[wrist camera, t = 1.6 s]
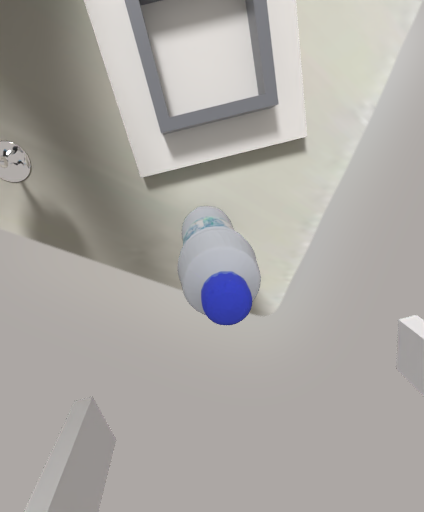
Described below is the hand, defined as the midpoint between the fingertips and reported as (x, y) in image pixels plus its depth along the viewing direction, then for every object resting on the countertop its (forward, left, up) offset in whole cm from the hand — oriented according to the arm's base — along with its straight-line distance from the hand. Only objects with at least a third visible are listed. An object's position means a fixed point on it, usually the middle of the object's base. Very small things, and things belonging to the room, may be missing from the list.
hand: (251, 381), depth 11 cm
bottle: (0, 0, -26) cm, 26 cm away
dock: (-18, +4, -26) cm, 31 cm away
